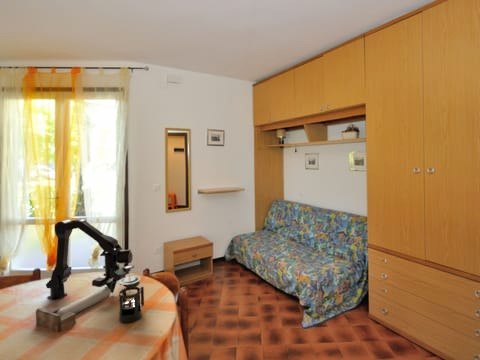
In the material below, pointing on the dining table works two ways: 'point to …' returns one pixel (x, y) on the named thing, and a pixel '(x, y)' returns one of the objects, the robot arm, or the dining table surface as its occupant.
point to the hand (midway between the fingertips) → (112, 292)
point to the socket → (54, 319)
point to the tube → (85, 302)
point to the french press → (130, 304)
